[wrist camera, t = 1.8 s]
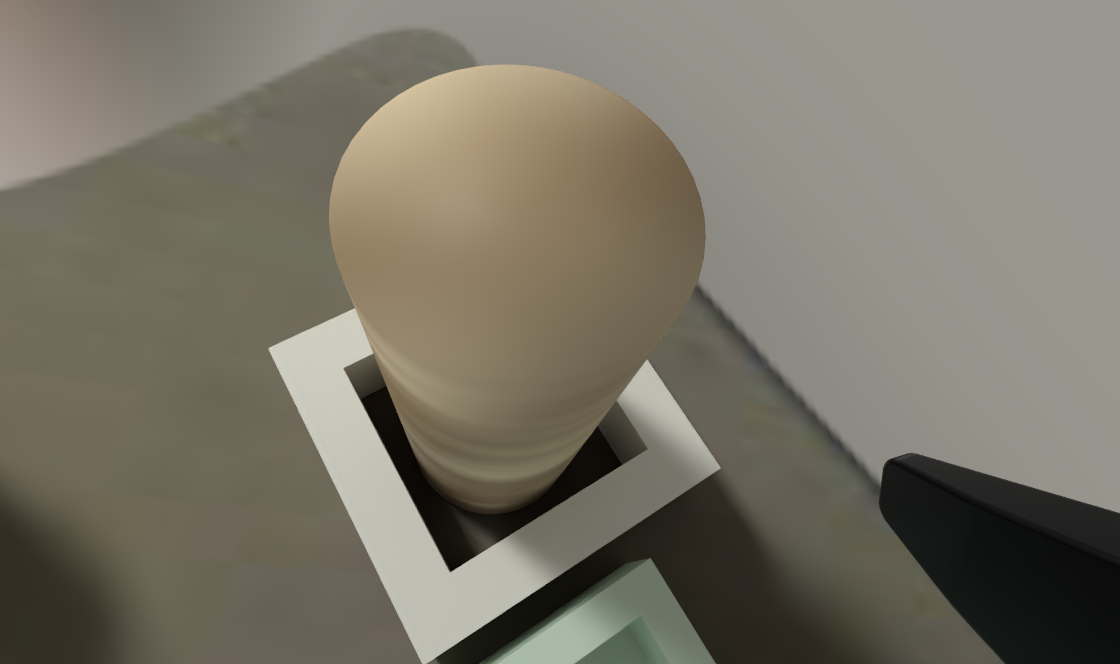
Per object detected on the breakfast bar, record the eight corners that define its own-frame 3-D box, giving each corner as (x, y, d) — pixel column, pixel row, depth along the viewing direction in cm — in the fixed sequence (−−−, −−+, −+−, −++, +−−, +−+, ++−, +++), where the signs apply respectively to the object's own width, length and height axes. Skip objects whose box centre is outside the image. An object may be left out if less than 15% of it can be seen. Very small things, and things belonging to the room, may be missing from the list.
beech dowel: (598, 462, 20) (777, 278, 9) (461, 546, 19) (443, 465, 7) (521, 336, 22) (581, 24, 10) (386, 406, 20) (266, 137, 8)
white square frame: (687, 485, 21) (720, 468, 18) (430, 654, 18) (423, 666, 15) (541, 263, 23) (551, 218, 20) (295, 382, 20) (268, 348, 17)
